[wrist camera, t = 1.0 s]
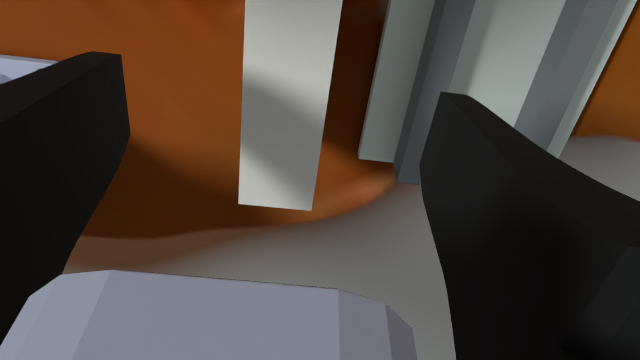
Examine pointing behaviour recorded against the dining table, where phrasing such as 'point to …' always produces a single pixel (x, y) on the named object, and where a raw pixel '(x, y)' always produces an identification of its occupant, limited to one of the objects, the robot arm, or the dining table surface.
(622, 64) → the dining table surface
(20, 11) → the dining table surface
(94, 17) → the dining table surface
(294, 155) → the door panel
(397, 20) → the track
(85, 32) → the dining table surface
